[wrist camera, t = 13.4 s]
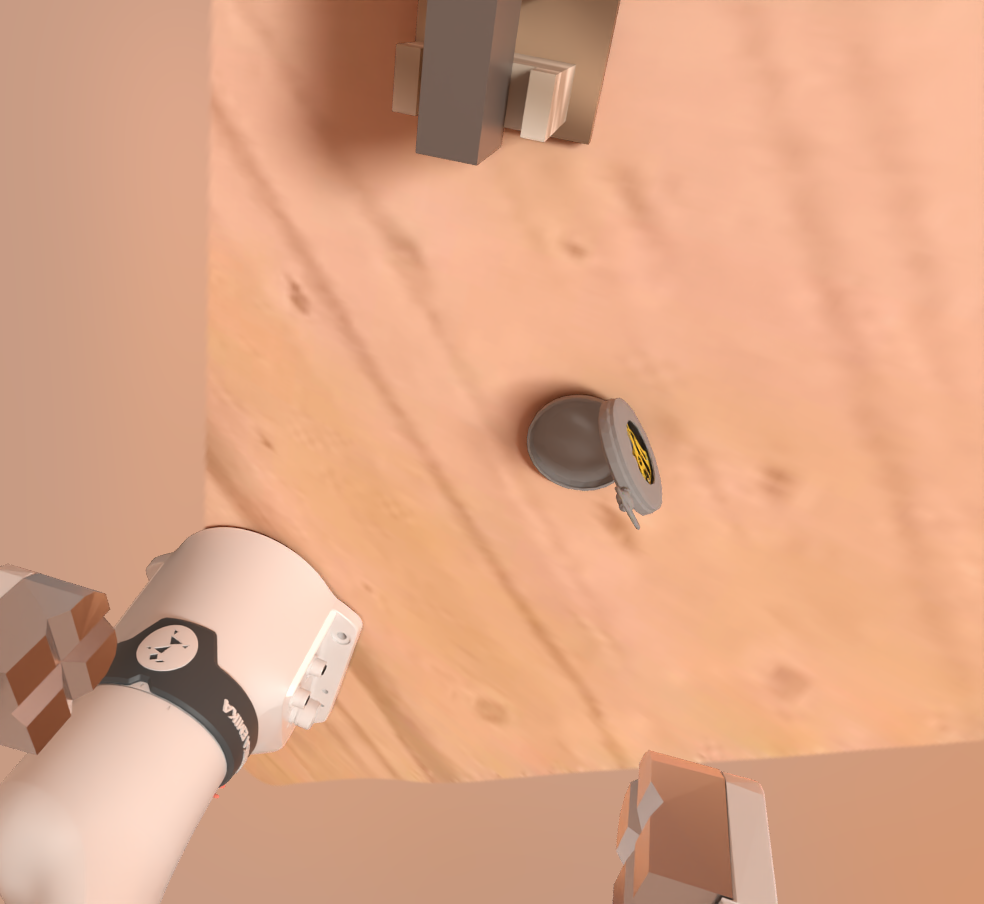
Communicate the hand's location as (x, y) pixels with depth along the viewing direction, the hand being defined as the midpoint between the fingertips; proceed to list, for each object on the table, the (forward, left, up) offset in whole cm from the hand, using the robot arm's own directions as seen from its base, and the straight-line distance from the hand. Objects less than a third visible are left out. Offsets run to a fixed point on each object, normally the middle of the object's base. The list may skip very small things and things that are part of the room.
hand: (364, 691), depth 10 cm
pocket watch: (-13, -4, -31) cm, 34 cm away
